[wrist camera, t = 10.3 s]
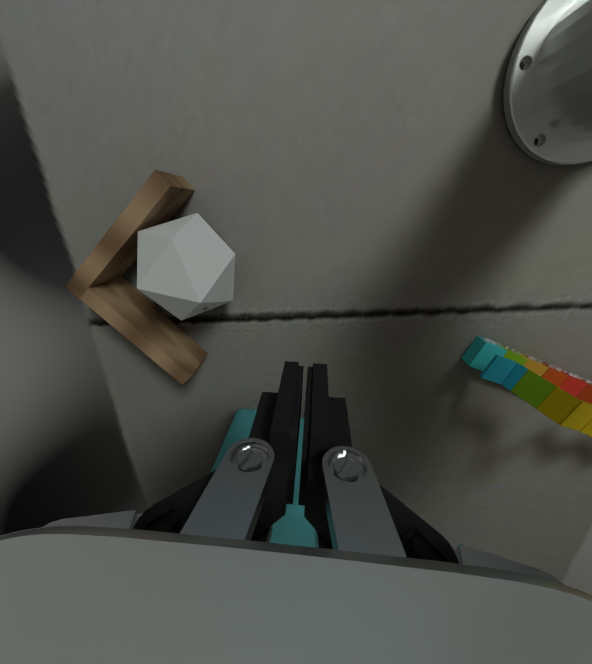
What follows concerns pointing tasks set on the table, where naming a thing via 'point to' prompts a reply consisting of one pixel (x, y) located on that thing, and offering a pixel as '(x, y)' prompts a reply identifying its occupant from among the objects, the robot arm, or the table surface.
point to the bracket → (121, 297)
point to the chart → (535, 383)
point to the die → (185, 266)
